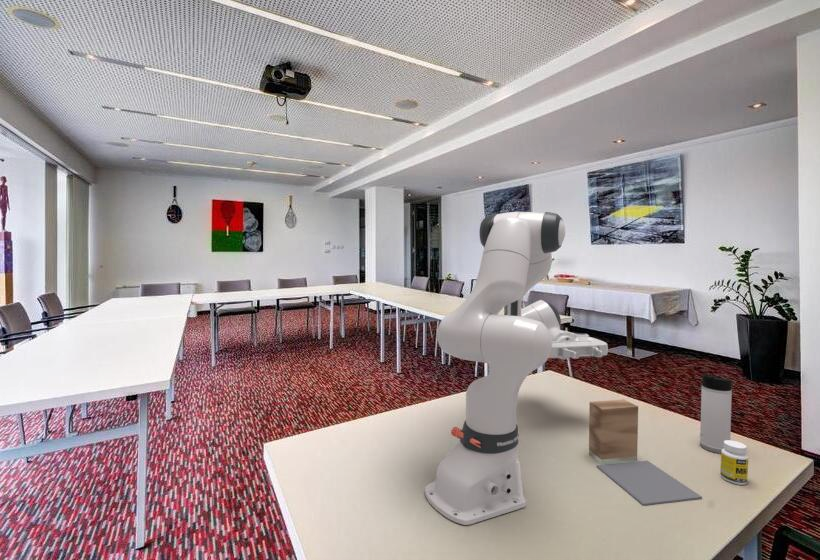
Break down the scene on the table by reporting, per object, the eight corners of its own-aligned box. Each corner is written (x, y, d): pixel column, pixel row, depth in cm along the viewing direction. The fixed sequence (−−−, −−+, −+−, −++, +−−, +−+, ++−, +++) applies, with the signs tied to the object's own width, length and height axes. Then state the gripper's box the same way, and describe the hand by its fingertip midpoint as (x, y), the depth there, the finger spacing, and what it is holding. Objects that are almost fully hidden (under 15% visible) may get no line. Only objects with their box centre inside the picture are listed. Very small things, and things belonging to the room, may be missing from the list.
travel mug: (693, 445, 103) (695, 373, 102) (710, 441, 105) (712, 370, 104) (718, 456, 97) (720, 379, 96) (735, 452, 99) (738, 377, 98)
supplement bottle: (737, 487, 84) (738, 450, 83) (715, 475, 88) (716, 440, 88) (752, 483, 85) (754, 447, 85) (730, 472, 90) (731, 437, 89)
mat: (596, 466, 92) (596, 465, 92) (647, 461, 95) (647, 460, 95) (643, 505, 78) (643, 503, 78) (702, 498, 80) (702, 496, 80)
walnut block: (588, 454, 99) (589, 401, 98) (623, 451, 100) (624, 399, 100) (601, 464, 94) (602, 409, 93) (637, 460, 95) (638, 406, 95)
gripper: (531, 336, 118) (554, 345, 105) (590, 333, 121) (620, 342, 108) (531, 355, 119) (554, 367, 105) (590, 352, 122) (620, 364, 108)
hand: (588, 355), depth 106 cm, fingers open, 6 cm apart
